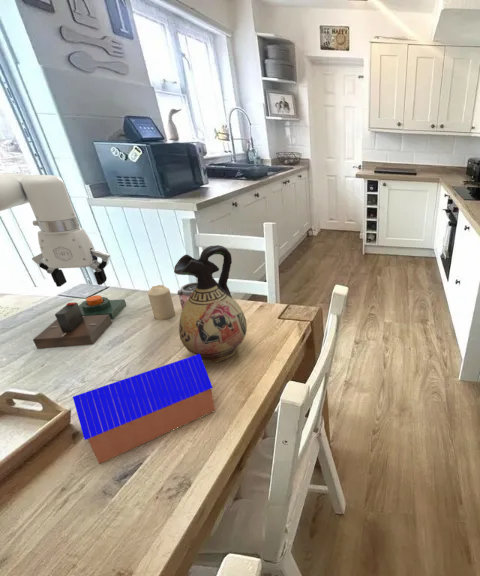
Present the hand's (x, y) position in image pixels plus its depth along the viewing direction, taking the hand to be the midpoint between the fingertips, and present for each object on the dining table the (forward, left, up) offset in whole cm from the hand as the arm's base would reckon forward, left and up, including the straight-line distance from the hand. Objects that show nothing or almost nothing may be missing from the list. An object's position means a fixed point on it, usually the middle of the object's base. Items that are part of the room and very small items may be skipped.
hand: (82, 283), depth 92 cm
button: (0, +3, -8) cm, 9 cm away
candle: (+19, -1, -12) cm, 22 cm away
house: (+30, -44, -12) cm, 54 cm away
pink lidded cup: (+30, -6, -12) cm, 32 cm away
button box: (0, +3, -12) cm, 12 cm away
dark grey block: (0, -9, -9) cm, 12 cm away
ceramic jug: (+39, -23, -12) cm, 46 cm away
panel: (0, -9, -12) cm, 15 cm away
